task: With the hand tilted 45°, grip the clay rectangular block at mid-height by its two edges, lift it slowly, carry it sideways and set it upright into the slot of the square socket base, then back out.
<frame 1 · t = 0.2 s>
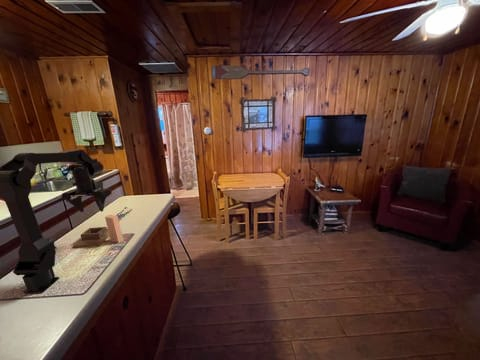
hand: (92, 211, 91), 15 cm above the worktop, tool pointing down, fingers open, 9 cm apart
driftwood: (122, 215, 121), on the worktop
square socket base: (96, 238, 96), on the worktop
clay rectangular block: (117, 240, 93), on the worktop
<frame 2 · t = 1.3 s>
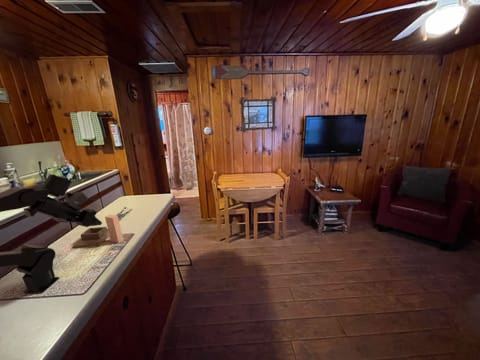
hand: (93, 222, 83), 13 cm above the worktop, tool tilted 45°, fingers open, 9 cm apart
nothing on the worktop moved.
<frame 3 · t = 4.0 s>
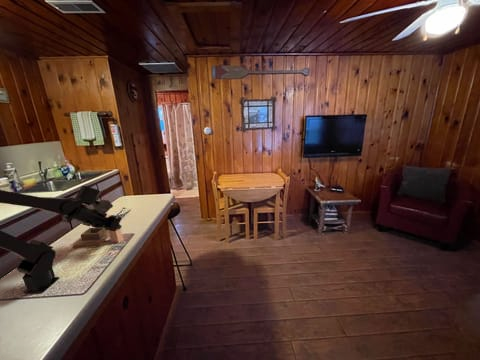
hand: (116, 226, 93), 7 cm above the worktop, tool tilted 45°, fingers closed on clay rectangular block, 5 cm apart
clay rectangular block: (117, 240, 93), on the worktop, touching gripper
everything else where it was.
when the fingers open (9 cm above the worktop, at t = 11.2 s): clay rectangular block drops 1 cm, resting on square socket base.
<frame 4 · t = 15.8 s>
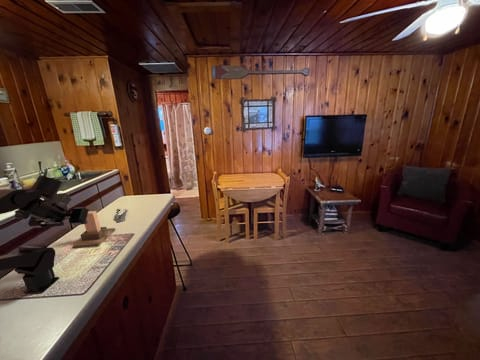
hand: (75, 223, 82), 14 cm above the worktop, tool tilted 45°, fingers open, 9 cm apart
clay rectangular block: (95, 236, 96), point 1 cm above the worktop, touching square socket base
at the end: clay rectangular block 0.0 cm off-centre on the square socket base, point 1.2 cm above the square socket base's base; clay rectangular block tilted 0°; the gripper is holding nothing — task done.
